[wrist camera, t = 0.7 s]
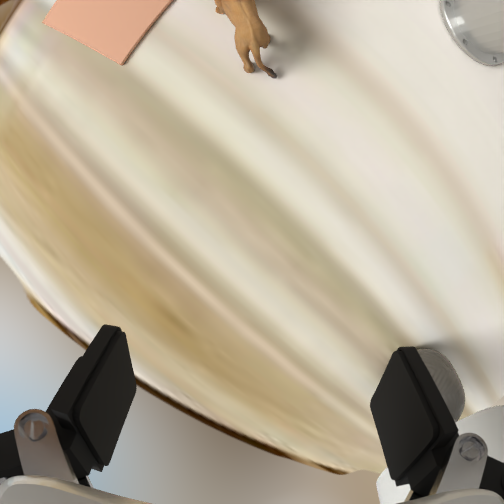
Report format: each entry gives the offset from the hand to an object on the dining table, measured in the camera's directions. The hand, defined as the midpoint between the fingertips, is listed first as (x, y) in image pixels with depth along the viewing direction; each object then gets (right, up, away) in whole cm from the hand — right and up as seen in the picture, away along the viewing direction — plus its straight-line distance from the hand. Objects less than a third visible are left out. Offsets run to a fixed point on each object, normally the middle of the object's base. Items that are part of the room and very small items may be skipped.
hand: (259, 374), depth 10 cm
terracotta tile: (-18, +34, +16) cm, 41 cm away
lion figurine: (-2, +29, +17) cm, 33 cm away
